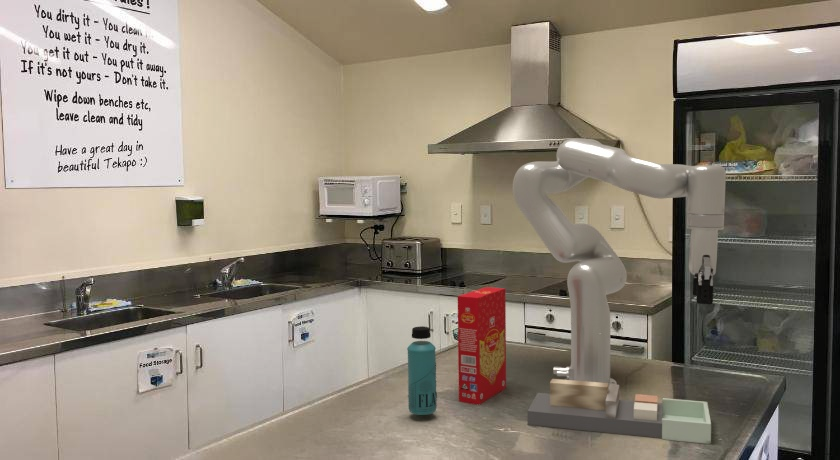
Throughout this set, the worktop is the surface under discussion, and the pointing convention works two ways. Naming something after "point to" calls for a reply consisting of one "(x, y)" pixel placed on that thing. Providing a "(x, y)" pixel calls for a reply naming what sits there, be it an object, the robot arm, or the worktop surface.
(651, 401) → the tile terracotta
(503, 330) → the food packaging
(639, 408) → the tile cream
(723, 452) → the worktop surface
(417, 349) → the beverage bottle
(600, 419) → the grey platform with tray
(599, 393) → the scraper
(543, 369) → the worktop surface
